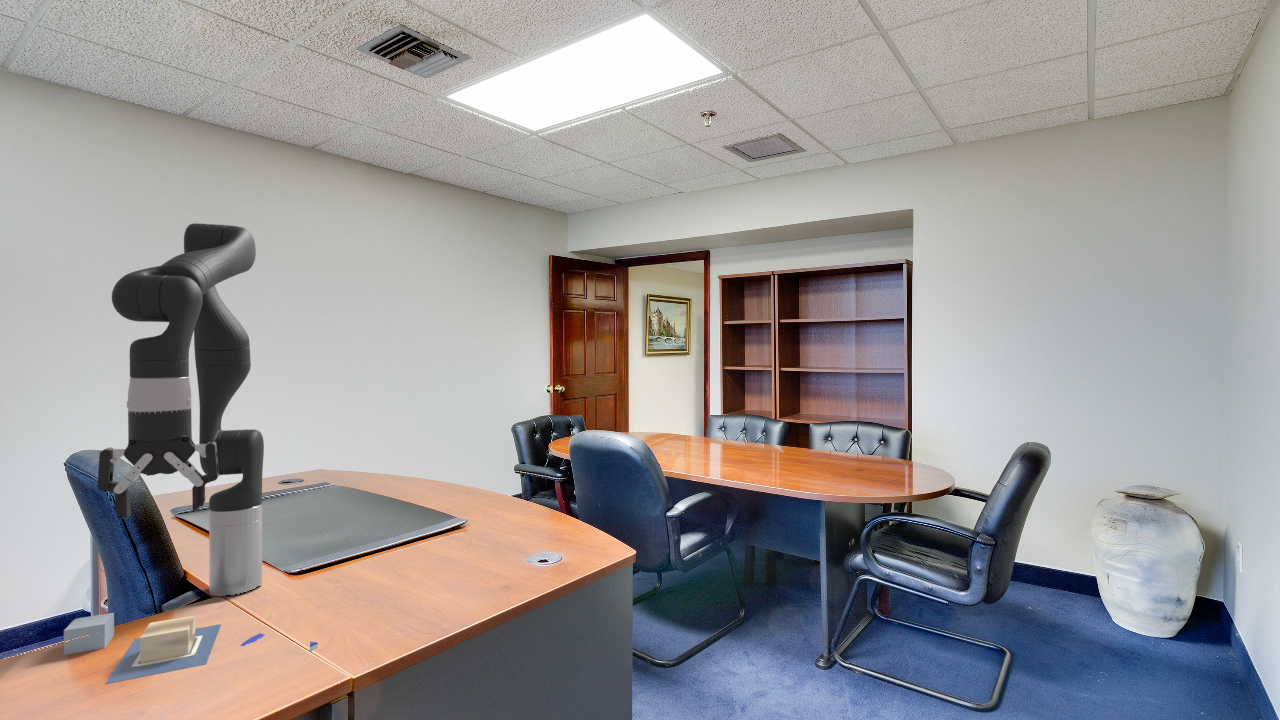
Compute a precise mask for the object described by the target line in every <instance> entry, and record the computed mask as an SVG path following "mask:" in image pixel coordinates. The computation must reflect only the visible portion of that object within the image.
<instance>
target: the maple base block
mask: <svg viewBox="0 0 1280 720" xmlns="http://www.w3.org/2000/svg"><path fill="white" fill-rule="evenodd" d="M195 629H196V615H189V616H185V617H184V616H183V617H178V618H173V619H172V618H171V619H166V620H160V621H153V622H149V624H148V625H147V627H146V628H145V630H144V632H142V634H141V635H140V637H139V638H140V664H142V663H147V662H152V661H157V660H163V659H168V658H173V657H179V656H184V655H188V654H189V652H190V650H191V648H192V645H193V643H194V641H195Z"/></svg>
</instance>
